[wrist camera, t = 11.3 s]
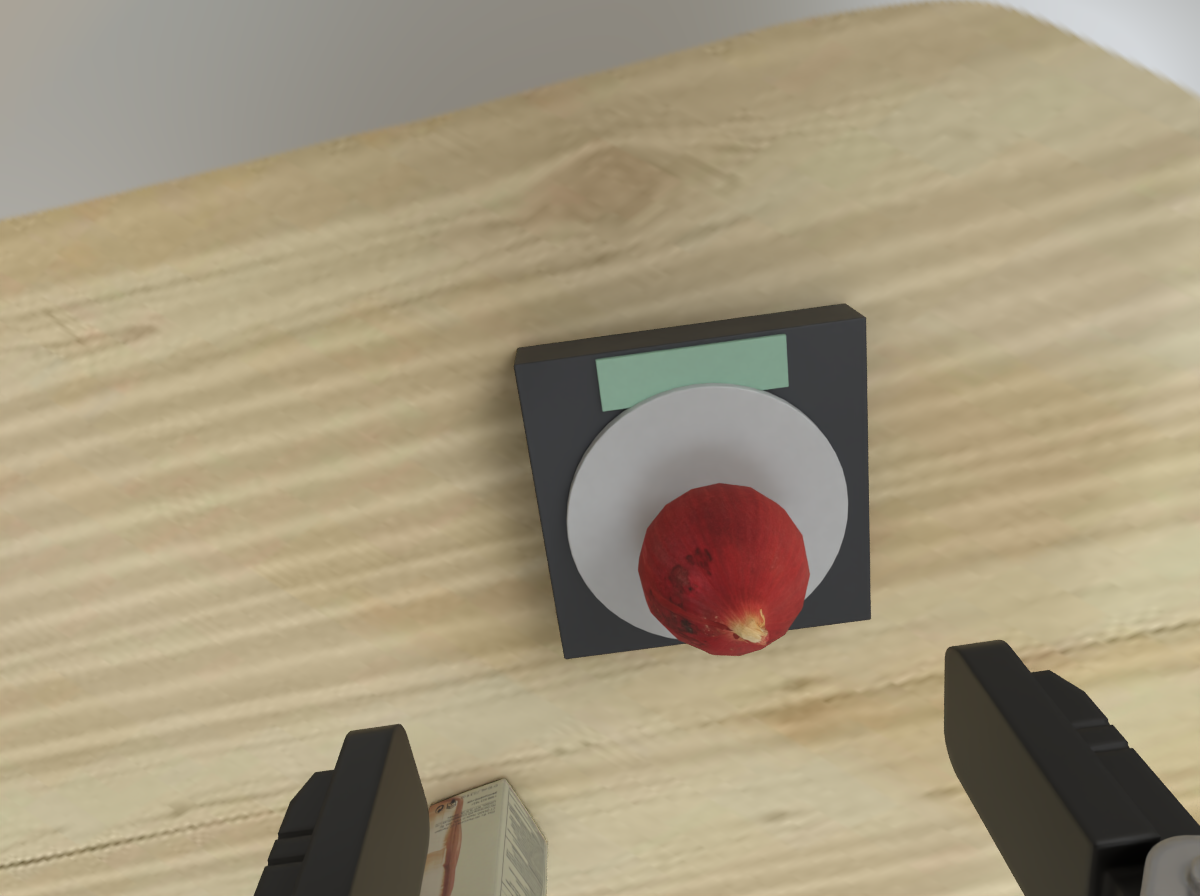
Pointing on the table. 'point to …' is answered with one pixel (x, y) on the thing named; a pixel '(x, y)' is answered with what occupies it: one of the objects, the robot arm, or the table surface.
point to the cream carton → (484, 846)
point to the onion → (724, 569)
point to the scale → (697, 456)
